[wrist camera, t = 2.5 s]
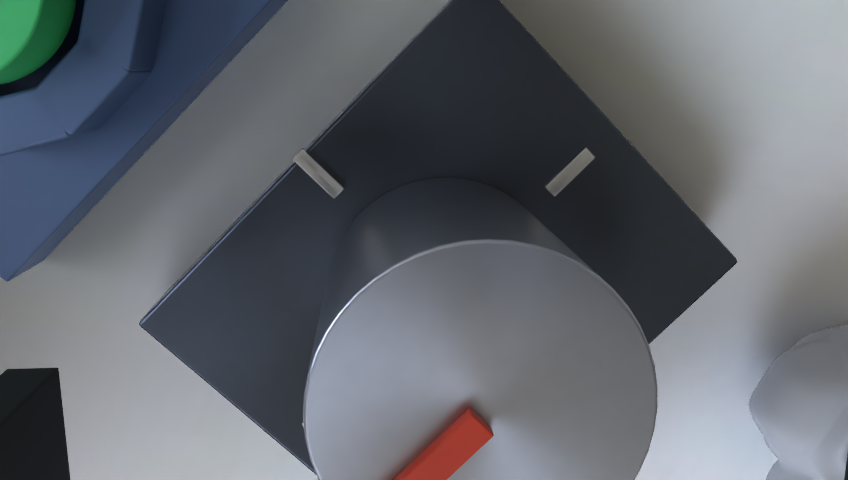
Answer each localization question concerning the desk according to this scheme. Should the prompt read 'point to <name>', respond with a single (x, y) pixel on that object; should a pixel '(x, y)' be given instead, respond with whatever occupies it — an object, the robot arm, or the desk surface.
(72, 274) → the desk surface
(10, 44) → the button
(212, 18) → the block
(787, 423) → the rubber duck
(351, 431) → the dial
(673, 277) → the dial panel
